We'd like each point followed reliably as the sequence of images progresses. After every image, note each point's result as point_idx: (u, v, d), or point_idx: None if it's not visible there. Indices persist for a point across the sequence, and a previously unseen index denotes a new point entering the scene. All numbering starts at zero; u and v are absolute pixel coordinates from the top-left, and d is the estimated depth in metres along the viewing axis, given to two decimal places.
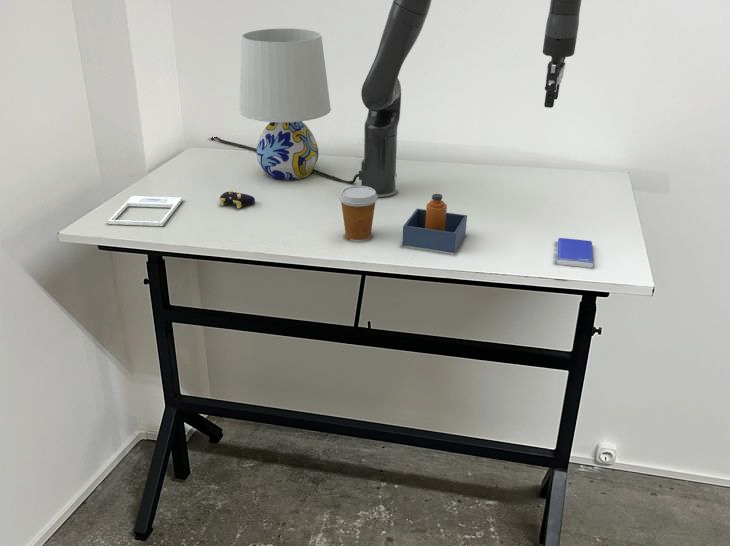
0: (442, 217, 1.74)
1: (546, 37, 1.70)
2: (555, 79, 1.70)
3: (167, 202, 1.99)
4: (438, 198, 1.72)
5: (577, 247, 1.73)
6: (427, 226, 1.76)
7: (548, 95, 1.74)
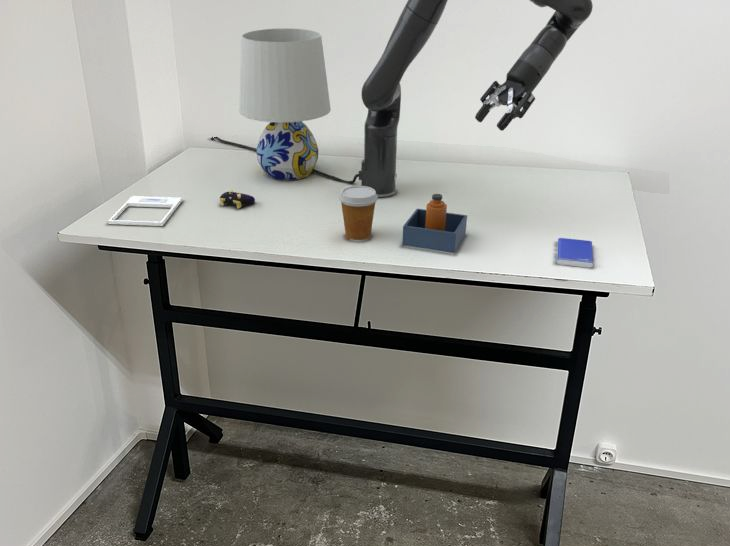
0: (442, 217, 1.74)
1: (528, 64, 1.68)
2: (527, 108, 1.68)
3: (167, 202, 1.99)
4: (438, 198, 1.72)
5: (577, 247, 1.73)
6: (427, 226, 1.76)
7: (508, 118, 1.69)
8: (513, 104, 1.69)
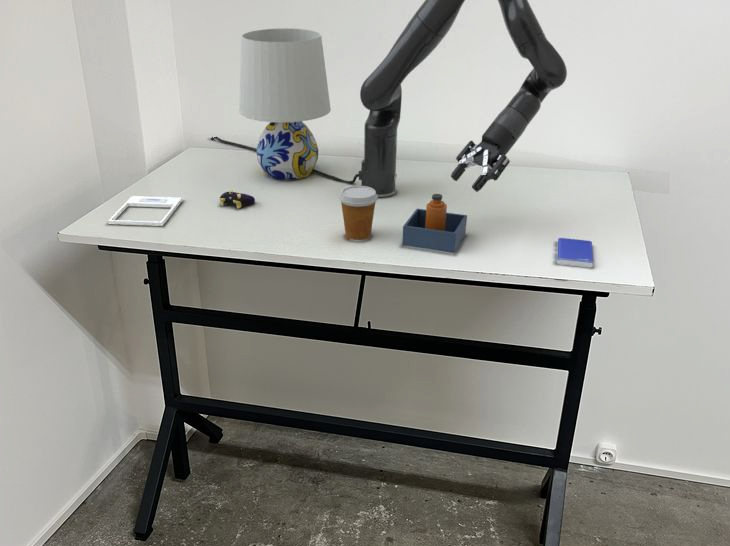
0: (442, 217, 1.74)
1: (503, 127, 1.70)
2: (502, 171, 1.70)
3: (167, 202, 1.99)
4: (438, 198, 1.72)
5: (577, 247, 1.73)
6: (427, 226, 1.76)
7: (483, 180, 1.71)
8: (488, 166, 1.71)
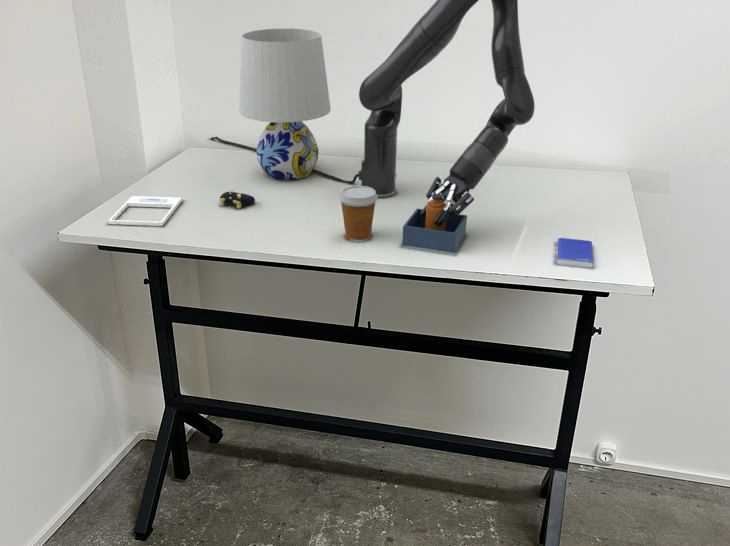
0: None
1: (470, 162, 1.70)
2: (464, 208, 1.71)
3: (167, 202, 1.99)
4: (438, 198, 1.72)
5: (577, 247, 1.73)
6: (427, 226, 1.76)
7: (445, 215, 1.72)
8: (451, 202, 1.72)
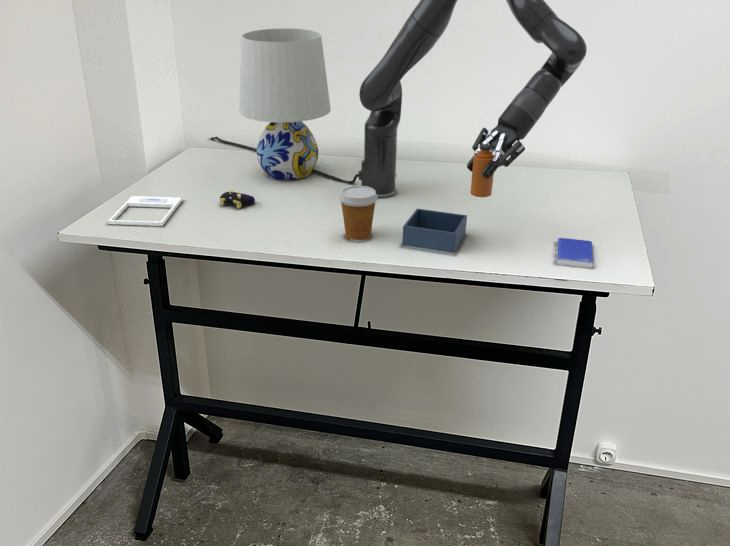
0: None
1: (520, 109, 1.61)
2: (514, 158, 1.62)
3: (167, 202, 1.99)
4: (486, 148, 1.63)
5: (577, 247, 1.73)
6: (474, 179, 1.67)
7: (494, 166, 1.63)
8: (500, 152, 1.63)
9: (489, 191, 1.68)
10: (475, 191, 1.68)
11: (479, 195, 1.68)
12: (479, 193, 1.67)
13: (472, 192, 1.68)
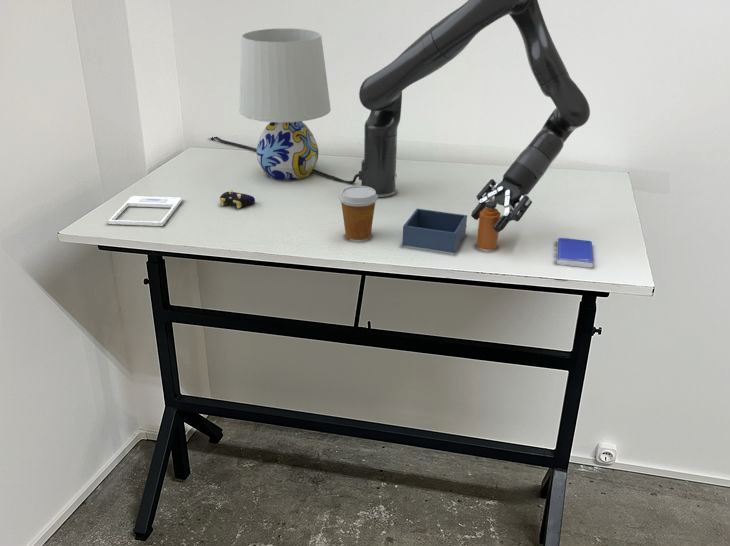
0: None
1: (525, 167, 1.68)
2: (524, 212, 1.67)
3: (167, 202, 1.99)
4: (492, 206, 1.70)
5: (577, 247, 1.73)
6: (480, 234, 1.73)
7: (505, 220, 1.68)
8: (510, 207, 1.68)
9: (494, 246, 1.74)
10: (481, 246, 1.74)
11: None
12: (485, 248, 1.74)
13: None
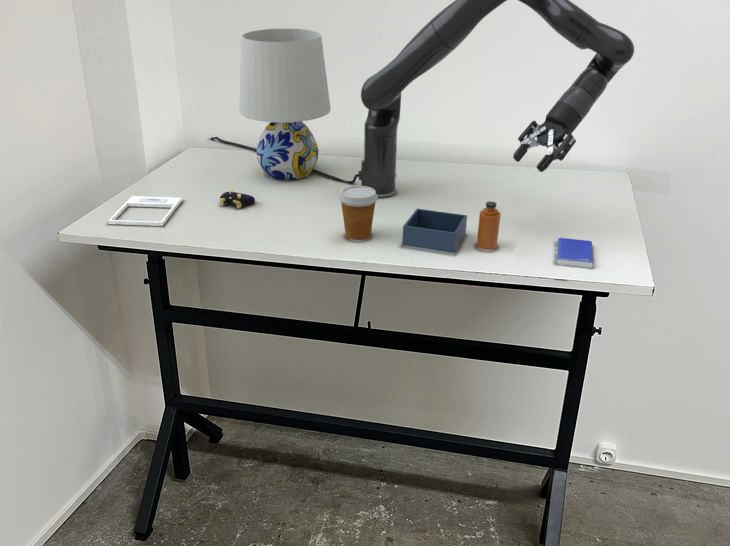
0: (496, 225, 1.71)
1: (569, 106, 1.67)
2: (568, 150, 1.67)
3: (167, 202, 1.99)
4: (492, 206, 1.70)
5: (577, 247, 1.73)
6: (480, 234, 1.73)
7: (549, 160, 1.68)
8: (553, 146, 1.68)
9: (494, 246, 1.74)
10: (481, 246, 1.74)
11: None
12: (485, 248, 1.74)
13: None
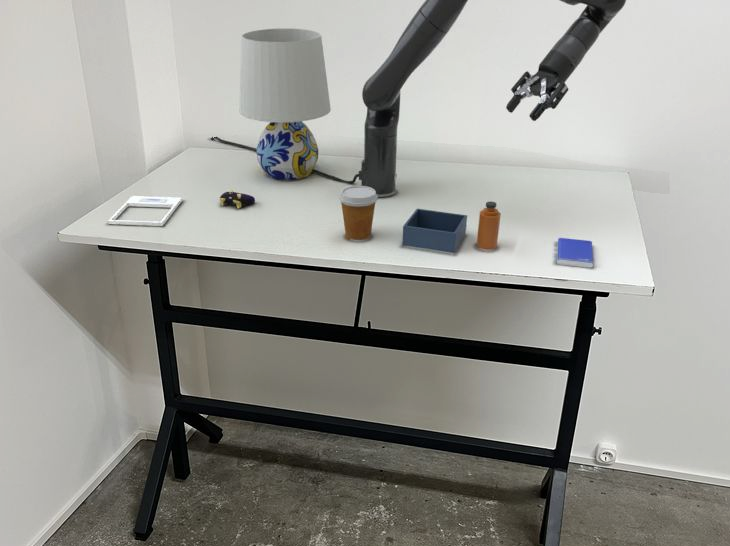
0: (496, 225, 1.71)
1: (561, 54, 1.68)
2: (560, 99, 1.68)
3: (167, 202, 1.99)
4: (492, 206, 1.70)
5: (577, 247, 1.73)
6: (480, 234, 1.73)
7: (541, 108, 1.69)
8: (546, 94, 1.69)
9: (494, 246, 1.74)
10: (481, 246, 1.74)
11: None
12: (485, 248, 1.74)
13: None
